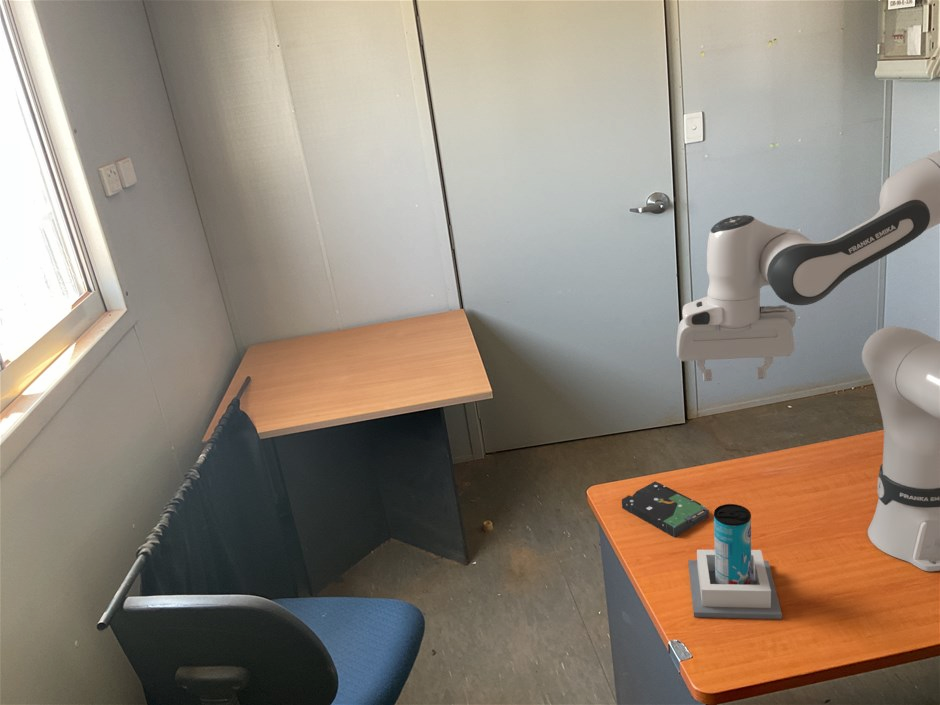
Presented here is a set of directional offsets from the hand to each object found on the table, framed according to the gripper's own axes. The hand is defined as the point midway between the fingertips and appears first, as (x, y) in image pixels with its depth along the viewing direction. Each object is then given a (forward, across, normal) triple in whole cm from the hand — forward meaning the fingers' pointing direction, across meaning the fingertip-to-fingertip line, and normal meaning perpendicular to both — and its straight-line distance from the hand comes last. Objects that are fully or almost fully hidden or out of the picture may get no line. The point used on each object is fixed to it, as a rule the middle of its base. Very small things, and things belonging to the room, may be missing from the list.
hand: (734, 378), depth 142 cm
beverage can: (+30, +3, +21) cm, 37 cm away
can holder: (+31, +3, +21) cm, 38 cm away
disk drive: (+32, +14, -3) cm, 35 cm away
